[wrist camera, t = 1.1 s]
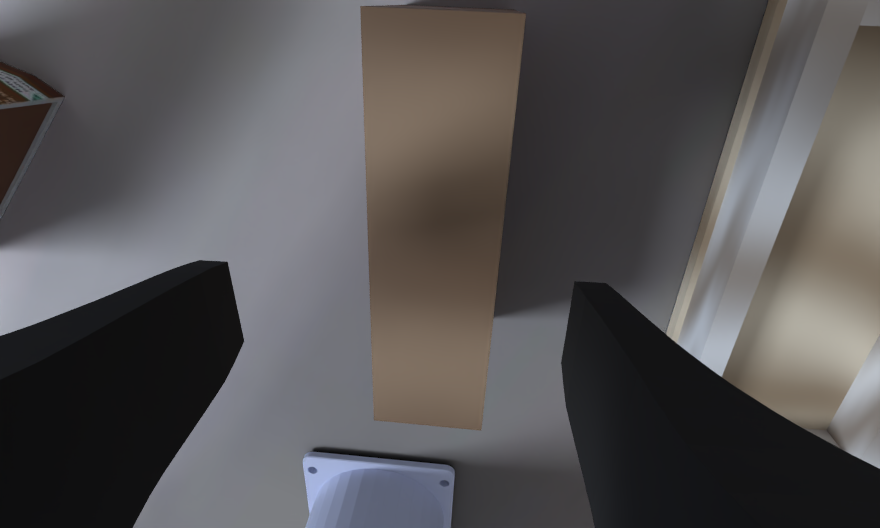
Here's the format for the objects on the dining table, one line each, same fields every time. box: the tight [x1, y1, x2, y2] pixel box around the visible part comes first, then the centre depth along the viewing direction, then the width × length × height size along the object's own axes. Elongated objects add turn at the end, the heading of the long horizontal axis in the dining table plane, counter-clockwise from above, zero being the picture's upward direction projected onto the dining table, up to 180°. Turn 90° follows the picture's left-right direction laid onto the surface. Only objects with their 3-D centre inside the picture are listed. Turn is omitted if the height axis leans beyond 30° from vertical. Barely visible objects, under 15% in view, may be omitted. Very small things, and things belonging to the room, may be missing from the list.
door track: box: [666, 0, 880, 469], centre depth 18 cm, size 18×9×3 cm, turn 178°
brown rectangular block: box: [360, 5, 526, 430], centre depth 16 cm, size 12×4×6 cm, turn 178°
